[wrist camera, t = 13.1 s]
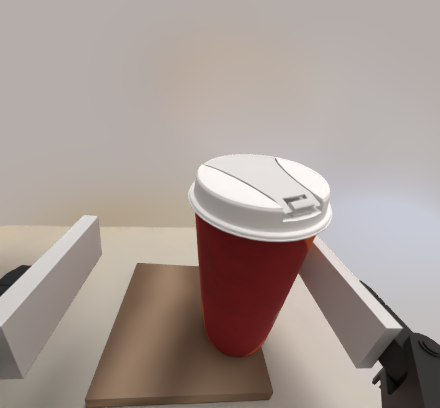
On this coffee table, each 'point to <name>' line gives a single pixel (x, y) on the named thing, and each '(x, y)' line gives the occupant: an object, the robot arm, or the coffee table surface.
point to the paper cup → (252, 242)
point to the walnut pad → (170, 349)
